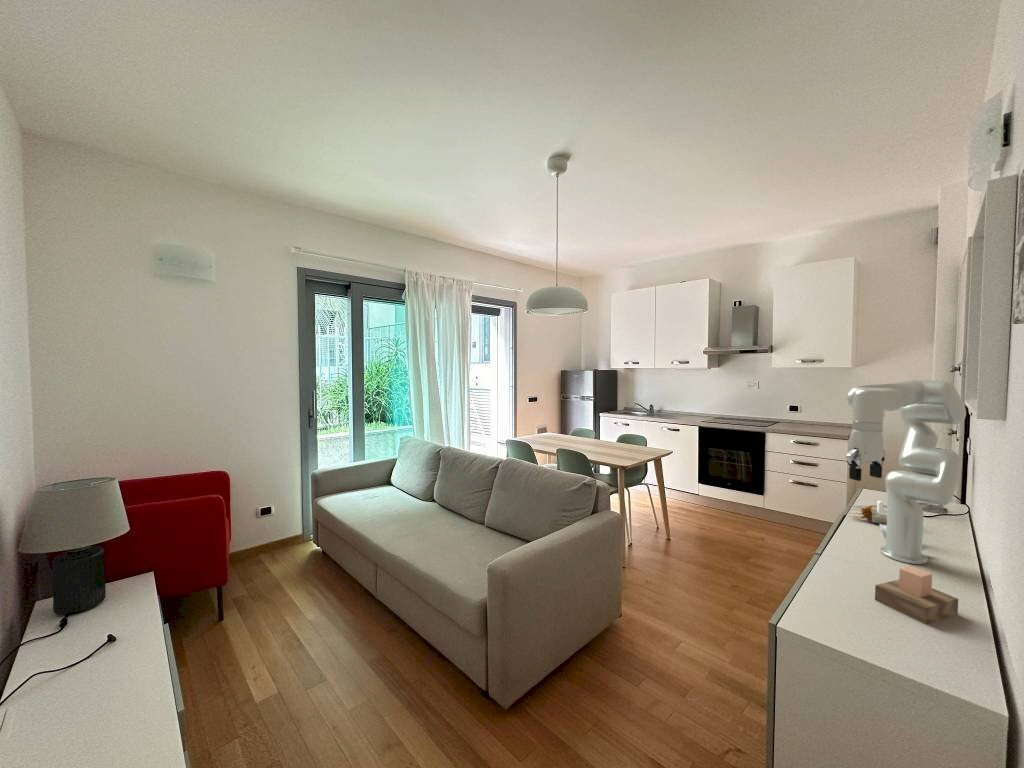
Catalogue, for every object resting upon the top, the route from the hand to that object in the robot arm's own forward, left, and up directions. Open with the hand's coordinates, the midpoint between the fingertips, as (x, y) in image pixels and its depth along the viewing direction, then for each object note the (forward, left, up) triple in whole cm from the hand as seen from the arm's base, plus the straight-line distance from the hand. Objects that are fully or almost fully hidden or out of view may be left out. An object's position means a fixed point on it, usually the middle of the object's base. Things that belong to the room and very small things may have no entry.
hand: (865, 478), depth 133 cm
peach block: (+4, +16, -29) cm, 33 cm away
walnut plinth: (+4, +16, -34) cm, 38 cm away
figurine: (-45, -17, -34) cm, 59 cm away
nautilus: (-58, -31, -34) cm, 74 cm away
